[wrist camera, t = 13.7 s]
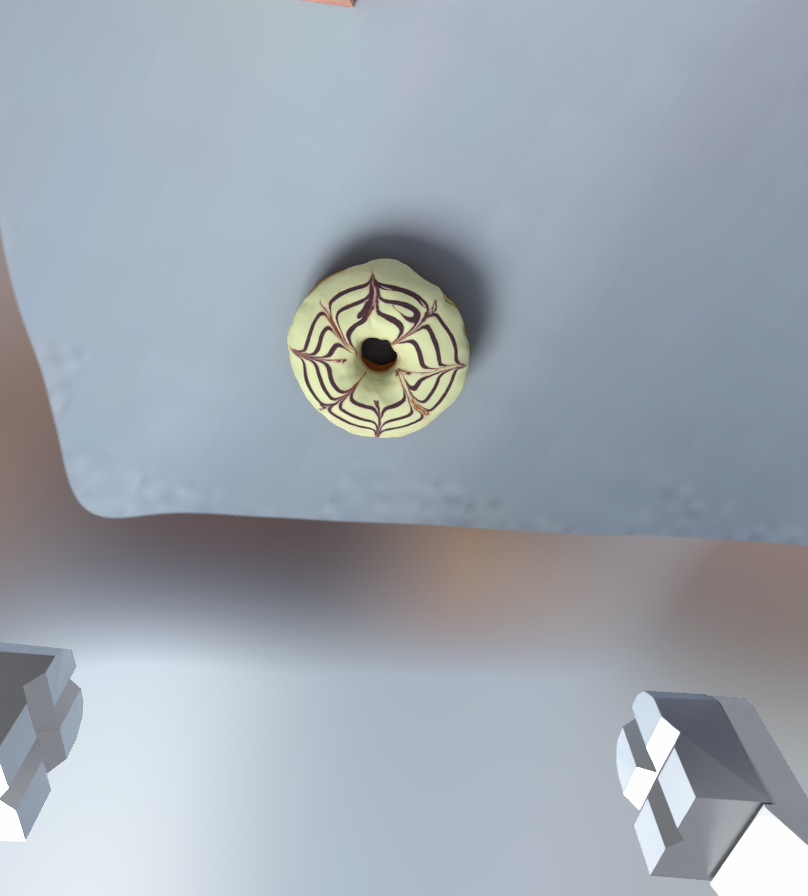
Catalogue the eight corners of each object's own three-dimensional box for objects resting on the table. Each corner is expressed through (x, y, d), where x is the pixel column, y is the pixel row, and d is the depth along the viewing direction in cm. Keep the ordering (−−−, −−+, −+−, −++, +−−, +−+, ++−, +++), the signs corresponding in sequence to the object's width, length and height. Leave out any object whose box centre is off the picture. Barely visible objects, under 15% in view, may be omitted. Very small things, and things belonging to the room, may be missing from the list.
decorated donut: (382, 216, 36) (380, 228, 32) (498, 347, 40) (507, 370, 36) (261, 334, 39) (248, 356, 36) (379, 444, 43) (378, 473, 40)
